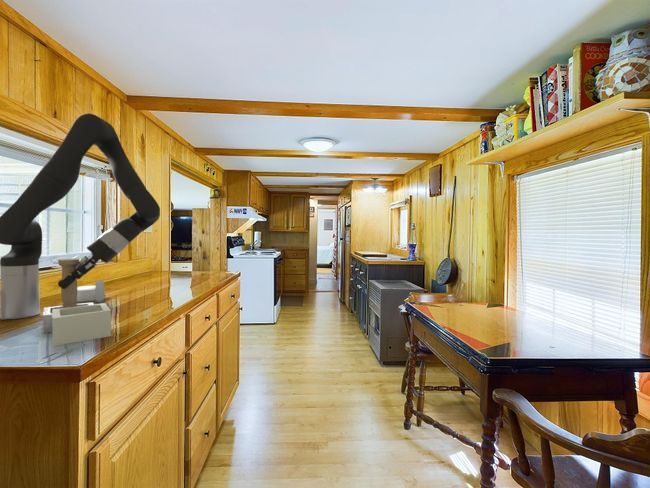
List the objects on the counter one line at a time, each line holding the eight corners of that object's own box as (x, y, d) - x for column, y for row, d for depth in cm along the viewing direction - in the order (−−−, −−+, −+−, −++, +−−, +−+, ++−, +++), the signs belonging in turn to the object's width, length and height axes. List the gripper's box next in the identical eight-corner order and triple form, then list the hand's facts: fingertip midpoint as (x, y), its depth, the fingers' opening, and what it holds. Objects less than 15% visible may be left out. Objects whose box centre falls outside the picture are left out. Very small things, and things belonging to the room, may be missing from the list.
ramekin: (90, 303, 125) (90, 290, 125) (63, 302, 125) (62, 289, 125) (110, 297, 136) (109, 285, 136) (85, 297, 136) (84, 285, 136)
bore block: (43, 333, 87) (43, 315, 87) (44, 323, 96) (43, 307, 96) (96, 325, 95) (96, 308, 95) (92, 317, 104) (92, 302, 104)
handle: (80, 305, 99) (79, 258, 99) (78, 309, 94) (78, 260, 93) (60, 306, 97) (60, 258, 96) (58, 311, 91) (57, 260, 91)
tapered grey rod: (94, 339, 108) (93, 302, 103) (95, 300, 126) (94, 268, 121) (106, 337, 110) (105, 301, 104) (105, 299, 128) (104, 267, 123)
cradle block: (52, 346, 77) (52, 318, 77) (52, 334, 86) (52, 309, 86) (111, 335, 85) (110, 310, 85) (105, 326, 94) (105, 303, 94)
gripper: (96, 236, 105) (48, 275, 97) (101, 237, 94) (48, 281, 86) (115, 252, 108) (70, 290, 101) (122, 254, 98) (73, 297, 90)
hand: (60, 286), depth 94 cm, fingers closed on handle, 3 cm apart
